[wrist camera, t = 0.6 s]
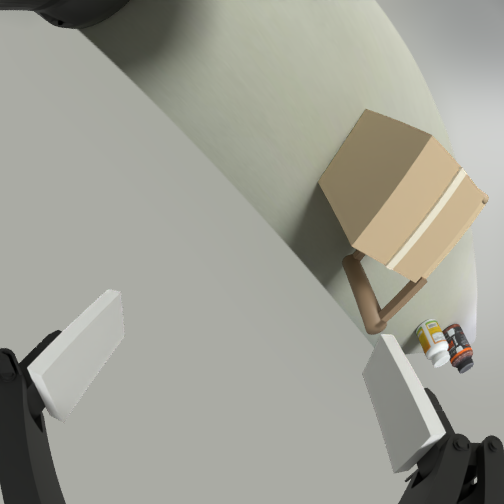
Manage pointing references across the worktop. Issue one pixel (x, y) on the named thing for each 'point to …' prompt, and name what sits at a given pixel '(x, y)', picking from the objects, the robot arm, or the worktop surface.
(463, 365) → the supplement bottle
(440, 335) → the supplement bottle
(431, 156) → the carton
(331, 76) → the worktop surface
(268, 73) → the worktop surface
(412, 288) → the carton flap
